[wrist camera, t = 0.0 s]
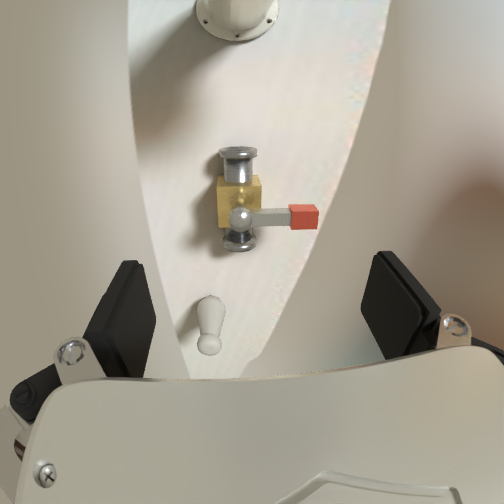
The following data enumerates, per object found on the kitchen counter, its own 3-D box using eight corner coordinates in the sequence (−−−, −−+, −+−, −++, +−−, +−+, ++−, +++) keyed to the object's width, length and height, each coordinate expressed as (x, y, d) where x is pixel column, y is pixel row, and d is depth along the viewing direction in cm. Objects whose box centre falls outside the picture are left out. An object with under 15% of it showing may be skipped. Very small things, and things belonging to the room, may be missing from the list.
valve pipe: (217, 147, 43) (214, 157, 35) (257, 146, 43) (264, 156, 35) (220, 237, 51) (219, 263, 43) (256, 236, 51) (261, 262, 43)
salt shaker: (196, 311, 59) (191, 358, 48) (198, 290, 56) (193, 337, 45) (223, 314, 60) (223, 361, 48) (227, 294, 57) (228, 341, 46)
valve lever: (229, 224, 40) (229, 232, 37) (228, 204, 38) (228, 211, 36) (311, 222, 40) (316, 230, 38) (313, 203, 39) (319, 209, 37)
